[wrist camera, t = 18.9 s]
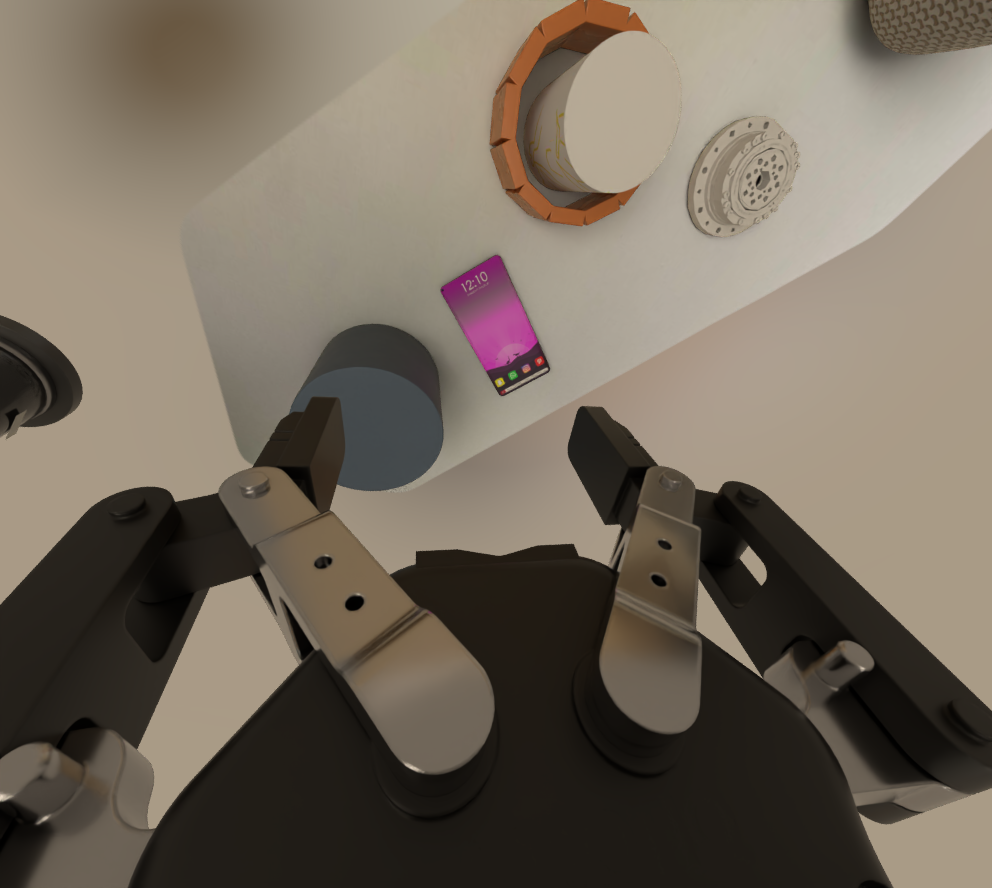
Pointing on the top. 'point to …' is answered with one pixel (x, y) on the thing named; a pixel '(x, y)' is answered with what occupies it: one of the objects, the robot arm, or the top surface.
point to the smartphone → (496, 325)
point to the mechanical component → (742, 176)
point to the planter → (931, 24)
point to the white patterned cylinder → (606, 117)
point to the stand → (380, 405)
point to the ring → (566, 29)
